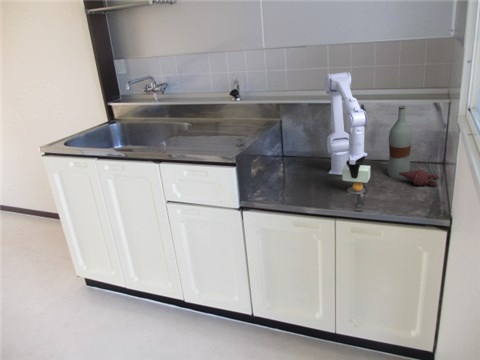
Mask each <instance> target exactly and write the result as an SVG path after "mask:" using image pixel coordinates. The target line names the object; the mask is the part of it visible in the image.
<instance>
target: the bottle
mask: <svg viewBox="0 0 480 360" xmlns="http://www.w3.org/2000/svg"><path fill="white" fill-rule="evenodd" d="M412 141H413V131H412V128H411V127H410V125H409V124H408V123H407V121H406V106H405V105H399V106H398V112H397V120H396V122H395V123H394V124H393V126H392V127H391V128H390V130H389V133H388V149H389V151H388V153H389V155H388V161H387V173H388V176H389V177H390V178H393V179H398V180H399V179H406V178H405V177H404V176H402V175H400V174H399V173H400V172H411V171H410V170H411V159H410V157H411V147H412Z"/></svg>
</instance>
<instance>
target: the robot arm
mask: <svg viewBox="0 0 480 360" xmlns="http://www.w3.org/2000/svg"><path fill="white" fill-rule="evenodd" d="M351 84H352V76H351V73H350V72H349V71H344V72H337V73H326V75H325V77H324V88H325V89H324V90H325V94H327V95H329V98H330V108H331V109H330V111H331V123H332V133H330V134H329V135H328V136H327V137H326V139H327V140H326V141H327V142H326V148H327V149H326V150H327V152H328V153H329V155H330V159H331V160H330V167H331V169H330V170H329V171H328V174H329V175H339V176H342V169H343V167H344V166H345V165H346V164H347V166H348V167H349V170H350V174H351V177H352V178H357V177H358V172H359V168H360V165H363V163H364V161H365V158H366V157H367V156H368V152H365V127H366V126H367V125H368V114H367V112H366V111H365V110H363V109H362V108H361V106H360V104H359V102H358V99H357V98H355V97H353V94H352V91H351ZM342 100H343V101H342ZM343 110H344V111H343ZM344 113H345V116H346V125H347V132H346V131H345V127H344V126H345V125H344V122H345V121H344Z"/></svg>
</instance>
